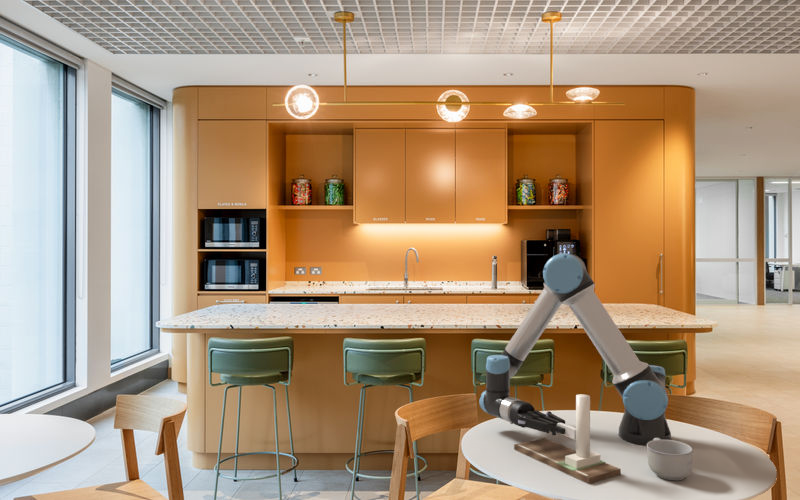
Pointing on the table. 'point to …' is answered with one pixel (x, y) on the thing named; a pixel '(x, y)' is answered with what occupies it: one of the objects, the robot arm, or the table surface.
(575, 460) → the tuning slider
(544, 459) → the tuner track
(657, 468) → the teacup
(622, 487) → the table surface
